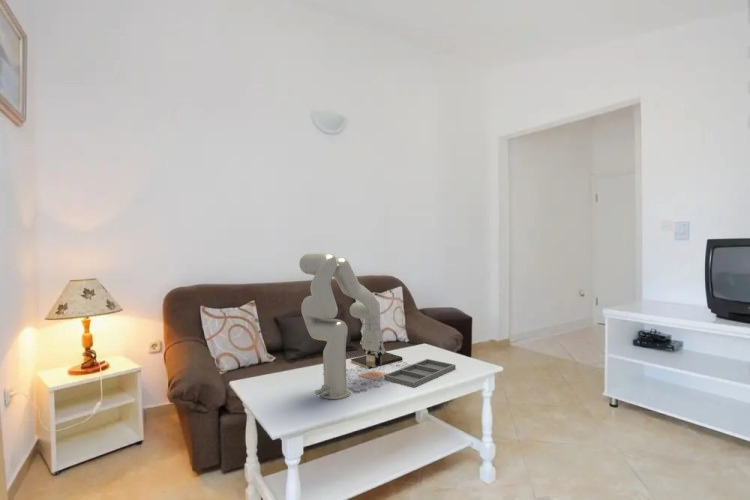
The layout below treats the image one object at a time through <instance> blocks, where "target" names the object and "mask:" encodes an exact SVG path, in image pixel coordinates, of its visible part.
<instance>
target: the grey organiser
mask: <svg viewBox="0 0 750 500" xmlns="http://www.w3.org/2000/svg"><path fill="white" fill-rule="evenodd" d="M456 369H457V368H456V364H454V363H448V362H445V361H440V360H435V359H430V358H426V359H424V360H421V361H418V362H416V363H413V364H410V365H407V366H405V367H402V368H399V369H396V370H393V371H391V372H389V373H387V374H386V375H384V376H383V380H384V381H386V382H390V383H394V384H395V383H396V384H399V385H402V386H406V387H410V388H412V389H413V388H414V389H415V388H417V387H419V386H421V385H424V384H425V383H428V382H429V381H432V380H434V379H436V378H439V377H441V376H443V375H445V374H447V373H450V372H452V371H454V370H456Z"/></svg>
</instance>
